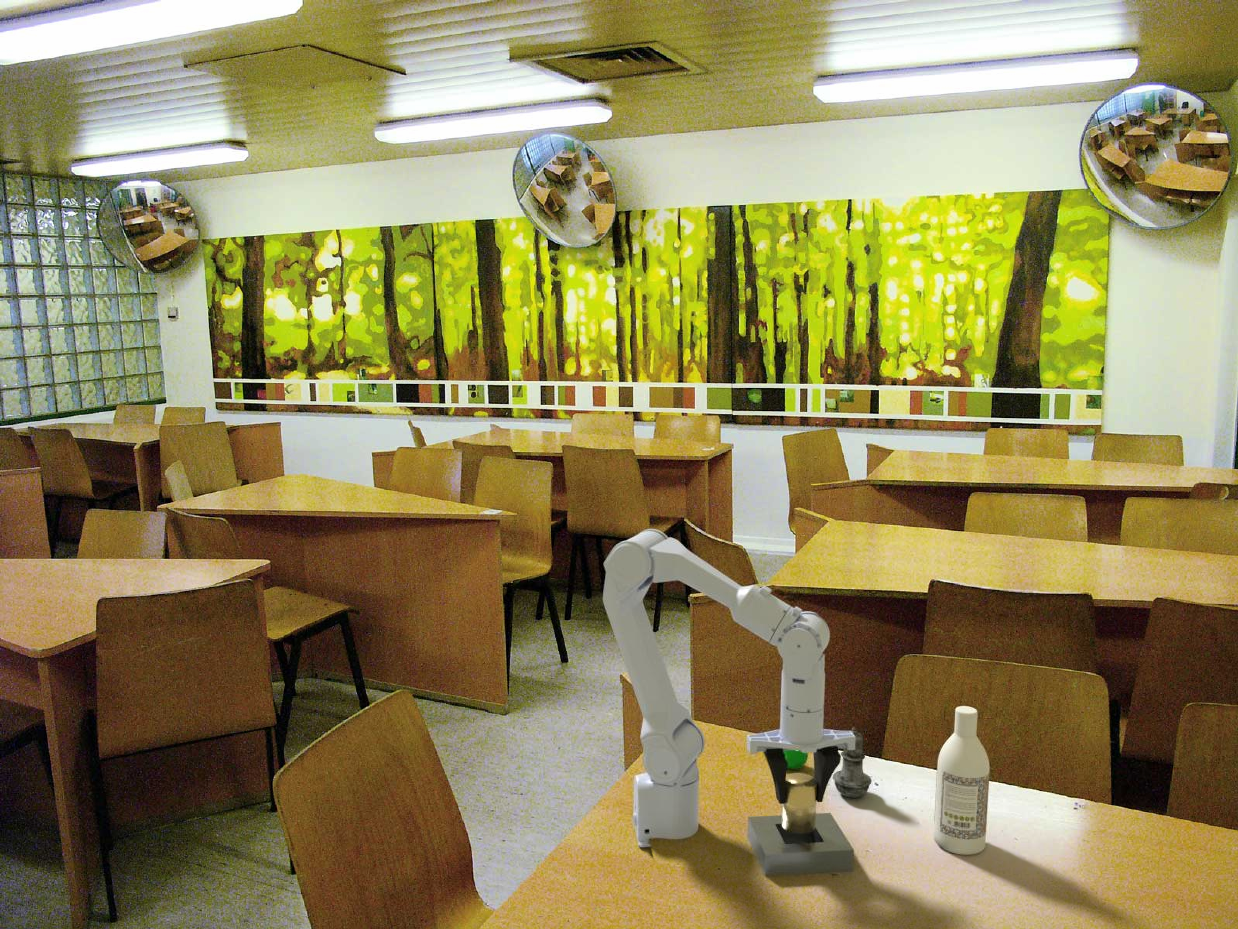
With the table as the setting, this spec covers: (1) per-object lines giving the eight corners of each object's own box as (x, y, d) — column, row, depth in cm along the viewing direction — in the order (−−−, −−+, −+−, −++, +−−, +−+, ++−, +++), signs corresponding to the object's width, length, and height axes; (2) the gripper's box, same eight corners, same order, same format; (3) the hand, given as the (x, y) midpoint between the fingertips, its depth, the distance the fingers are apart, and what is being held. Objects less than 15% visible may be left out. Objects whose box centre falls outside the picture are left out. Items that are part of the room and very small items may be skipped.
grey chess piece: (861, 813, 149) (864, 738, 147) (825, 801, 152) (827, 728, 151) (876, 798, 154) (879, 725, 152) (841, 787, 157) (844, 716, 155)
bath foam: (993, 856, 137) (1001, 719, 134) (943, 857, 137) (951, 720, 134) (973, 830, 144) (981, 699, 141) (926, 831, 144) (933, 700, 141)
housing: (764, 883, 130) (765, 854, 130) (747, 843, 140) (747, 817, 140) (852, 878, 132) (853, 850, 131) (829, 839, 141) (830, 813, 141)
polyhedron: (800, 777, 161) (800, 749, 160) (772, 769, 163) (772, 742, 163) (811, 765, 165) (812, 738, 164) (784, 758, 168) (785, 731, 167)
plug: (786, 834, 133) (787, 789, 132) (777, 817, 137) (778, 773, 136) (819, 833, 133) (821, 787, 132) (809, 816, 138) (811, 772, 137)
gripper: (756, 718, 128) (753, 816, 130) (864, 714, 129) (860, 811, 131) (744, 698, 135) (741, 791, 137) (847, 694, 136) (843, 786, 138)
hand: (799, 799), depth 135 cm, fingers closed on plug, 5 cm apart
